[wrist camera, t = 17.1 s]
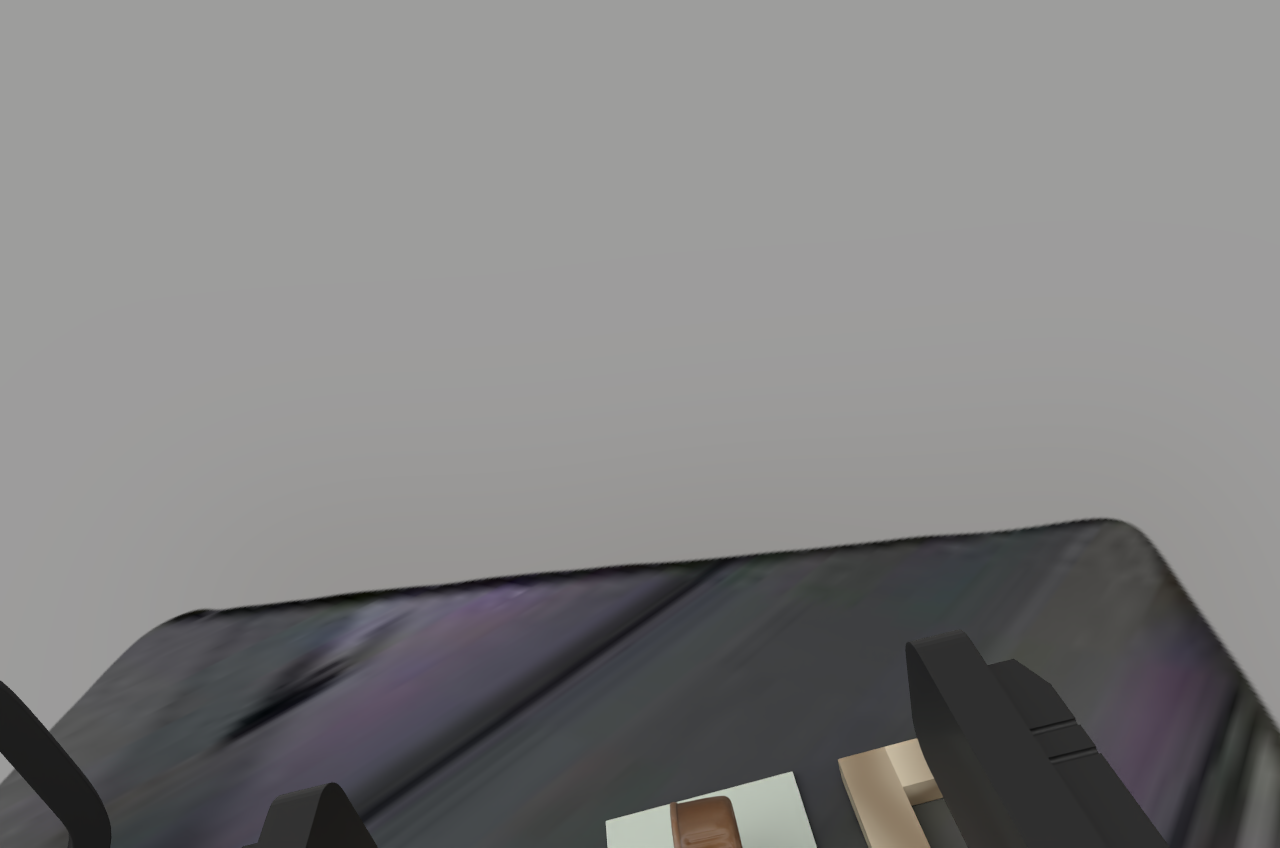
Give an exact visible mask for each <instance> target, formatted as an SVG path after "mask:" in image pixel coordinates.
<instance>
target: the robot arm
mask: <svg viewBox="0 0 1280 848" xmlns="http://www.w3.org/2000/svg"><path fill="white" fill-rule="evenodd" d="M906 661H907V670H908V680H909V689H910V699H911V709H912V718H913V723H914V728H915V732H916V735H917V739H918V742H919V745H920V748H921V751H922V753H923V756H924V758H925V761H926V763H927V765H928V767H929V769H930V771H931V773H932V775H933V777H934V779H935V781H936V783H937V786H938V788H939V790H940V792H941V794H942V796H943V798H944V800H945V802H946V804H947V806H948V808H949V810H950V812H951V814H952V816H953V818H954V820H955V822H956V824H957V826H958V828H959V830H960V832H961V834H962V836H963V838H964V840H965V842H966V844H967V846H968V848H1170V847H1169V846H1168V844H1167V843H1166V842H1165V840H1164V839H1163V837H1162V836H1161V835H1160V833H1159V832H1158V831H1157V829H1156V828H1155V826H1154V825H1153V824H1152V822H1151V821H1150V820H1149V818H1148V817H1147V816H1146V814H1145V813H1144V811H1143V810H1142V809H1141V807H1140V806H1139V805H1138V803H1137V802H1136V800H1135V799H1134V798H1133V796H1132V795H1131V794H1130V792H1129V791H1128V789H1127V788H1126V787H1125V785H1124V784H1123V783H1122V781H1121V780H1120V779H1119V777H1118V776H1117V774H1116V773H1115V772H1114V770H1113V769H1112V768H1111V766H1110V765H1109V763H1108V762H1107V761H1106V759H1105V758H1104V757H1103V755H1102V754H1101V753H1100V754H1099V753H1098V751H1097V749H1096V746H1095V744H1094V743H1093V742H1092V740H1091V739H1090V737H1089V736H1088V735H1087V733H1086V732H1085V731H1084V729H1083V728H1082V727H1081V725H1078V724H1077V722H1076V720H1075V717H1074V716H1073V714H1072V713H1071V711H1070V710H1069V709H1068V707H1067V706H1066V705H1065V703H1064V702H1063V701H1062V699H1061V698H1060V696H1059V695H1058V694H1057V692H1056V691H1055V690H1054V688H1053V687H1052V685H1051V684H1050V683H1048V682H1047V681H1045V680H1044V679H1042V678H1041V677H1039V676H1038V675H1037V674H1035V673H1034V672H1032V671H1031V670H1029V669H1028V668H1026V667H1025V666H1024V665H1022V664H1021V663H1019V662H1018V661H1016V660H1015V659H1012V660H1007V661H1003V662H999V663H995V664H991V665H987V664H986V662H985V661H984V659H983V658H982V656H981V655H980V653H979V652H978V650H977V649H976V647H975V646H974V644H973V643H972V641H971V640H970V638H969V637H968V636H967V634H966V633H965V632H964V631H962V630H955V631H951V632H947V633H943V634H939V635H935V636H931V637H927V638H923V639H919V640H915V641H910V642H907V643H906ZM242 848H378V847H377V845H376V843H375V842H374V840H373V838H372V837H371V835H370V834H369V832H368V830H367V829H366V827H365V825H364V824H363V822H362V820H361V819H360V817H359V815H358V814H357V812H356V811H355V809H354V807H353V806H352V804H351V802H350V801H349V799H348V797H347V796H346V794H345V792H344V791H343V789H342V788H341V787H340V786H339V785H338V784H336V783H328V784H324V785H320V786H316V787H312V788H308V789H303V790H299V791H295V792H291V793H287V794H283V795H280V796H278V797H277V798H276V799H275V800H274V801H273V803H272V804H271V806H270V809H269V811H268V814H267V817H266V820H265V823H264V826H263V829H262V832H261V835H260V838H259V840H258V843H255V844H251V845H247V846H243V847H242Z"/></svg>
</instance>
